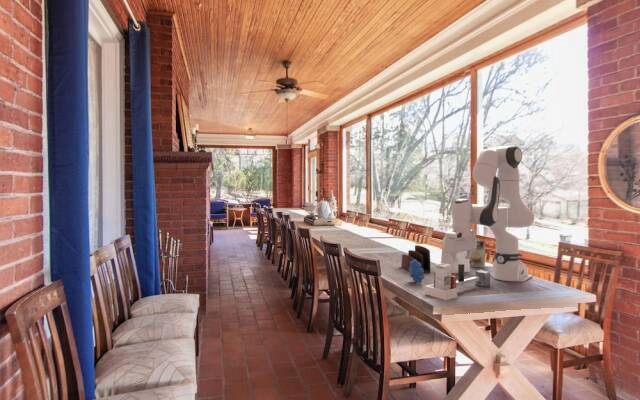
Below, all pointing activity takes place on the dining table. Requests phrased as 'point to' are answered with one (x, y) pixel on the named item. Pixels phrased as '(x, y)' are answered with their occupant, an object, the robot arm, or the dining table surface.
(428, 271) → the letter holder
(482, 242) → the coffee box
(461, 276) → the linear slider rail
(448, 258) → the milk
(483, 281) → the grey hollow block
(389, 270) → the dining table surface
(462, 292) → the dining table surface
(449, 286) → the syrup box
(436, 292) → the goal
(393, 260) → the dining table surface
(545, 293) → the dining table surface
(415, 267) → the grapes
